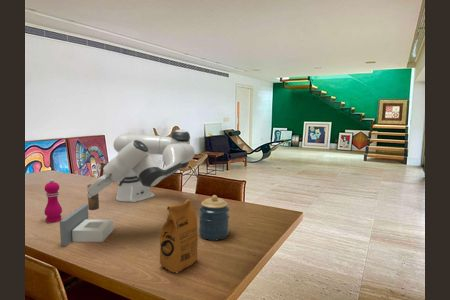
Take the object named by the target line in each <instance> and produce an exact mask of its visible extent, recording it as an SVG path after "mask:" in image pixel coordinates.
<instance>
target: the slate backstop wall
mask: <svg viewBox="0 0 450 300" xmlns="http://www.w3.org/2000/svg"><path fill="white" fill-rule="evenodd" d="M85 219H89V209H88V204H82V205H81V206H79V207H78V208H77V209H75V210H74V211H73V212H71V213H70V214H68V215H66V216H65V217H64V218H63V219H62V218H61V220H60V221H59V229H60V230H59V231H60V232H59V233H60V246H61V247H67V246H68V245H69V244H70V243H71V242H73V238H72V230H73V229H74V228H76V227H77V226H78V225H79V224H81V223H82V222H83V221H84V220H85Z"/></svg>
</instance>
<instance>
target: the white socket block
mask: <svg viewBox="0 0 450 300" xmlns="http://www.w3.org/2000/svg"><path fill="white" fill-rule="evenodd" d="M113 231H114V219H96V218H95V219H93V218H92V219H91V218H88V219H85V220H84V221H83V222H82V223H81V224H79V225H78V226H77V227H76V228H74V229H73V230H72V238H73V240H72V242H75V243H77V242H78V243H79V242H80V243H81V242H84V243H85V242H86V243H88V242H89V243H92V242H93V243H103V242H104V241H105V240H106V239H107V238H108V237H109V236H110V235H111V233H112V232H113Z"/></svg>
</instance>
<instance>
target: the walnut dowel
mask: <svg viewBox="0 0 450 300" xmlns="http://www.w3.org/2000/svg"><path fill="white" fill-rule="evenodd" d="M92 184H93V183H90V184H87V185H86V186H87V189H88V188H89V187H90V186H91V185H92ZM88 193H89V192H88V191H87V194H88ZM99 195H100V193H97V194H96V195H94V196H92V197H91V198H88V197H87V202H88V203H87V205H88V211H95V210H99V209H100V199H99Z"/></svg>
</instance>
